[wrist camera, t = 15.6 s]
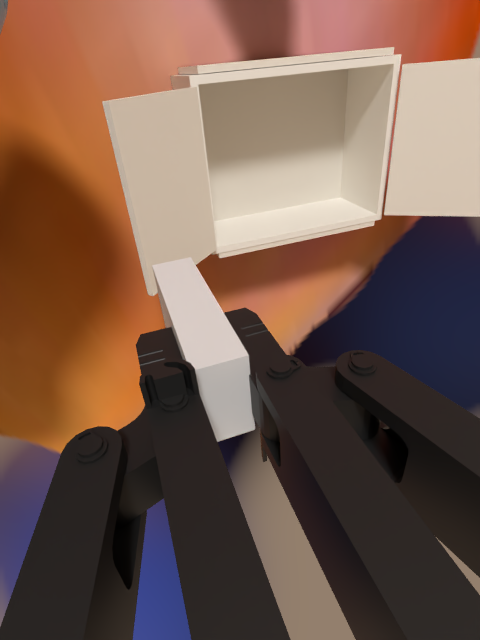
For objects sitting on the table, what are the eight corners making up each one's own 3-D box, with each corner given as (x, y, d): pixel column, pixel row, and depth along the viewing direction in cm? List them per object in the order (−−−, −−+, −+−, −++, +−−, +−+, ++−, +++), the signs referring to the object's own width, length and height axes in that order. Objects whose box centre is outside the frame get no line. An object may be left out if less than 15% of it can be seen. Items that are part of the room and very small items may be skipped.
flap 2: (483, 216, 37) (482, 214, 37) (527, 54, 30) (525, 54, 30) (384, 215, 39) (383, 213, 40) (403, 64, 32) (402, 64, 33)
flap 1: (108, 101, 22) (102, 101, 22) (153, 296, 29) (148, 294, 29) (197, 86, 28) (191, 87, 28) (216, 249, 35) (211, 248, 35)
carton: (194, 233, 42) (212, 260, 36) (169, 68, 34) (188, 66, 28) (341, 205, 47) (380, 224, 40) (351, 50, 38) (402, 46, 32)
